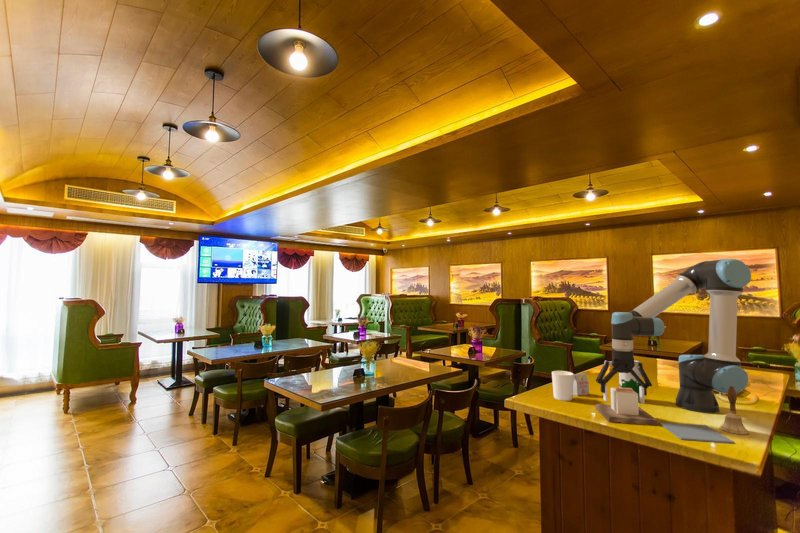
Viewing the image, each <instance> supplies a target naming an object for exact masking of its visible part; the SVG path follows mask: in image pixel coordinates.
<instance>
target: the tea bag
mask: <svg viewBox="0 0 800 533" xmlns="http://www.w3.org/2000/svg"><path fill="white" fill-rule="evenodd" d="M573 374H574V373H573ZM573 396H576V397H581V396H590V383H589V379H588V376H587V373H578V374H574V379H573Z"/></svg>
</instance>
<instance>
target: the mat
mask: <svg viewBox="0 0 800 533" xmlns="http://www.w3.org/2000/svg"><path fill="white" fill-rule="evenodd" d="M658 425H660V426H662V427H663V428H665V429H666V430H667V431H668V432H669V433H671V434H673V435H674V436H675V437H677V438H678V439H680V440H681V441H694V442H707V443H708V442H709V443H717V444H718V443H720V444H731V445H732V444H733V445H734V444H735V441H734V440H732V439H730V438H728V437H727V436H725V435H723V434H722V433H720V432H718V431H717V430H716V429H714V428H712V427H710V426H708V425H706V424H696V423H695V424H694V423H691V424H690V423H679V422H678V423H676V422H665V421H658Z"/></svg>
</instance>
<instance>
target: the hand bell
mask: <svg viewBox="0 0 800 533" xmlns="http://www.w3.org/2000/svg"><path fill="white" fill-rule="evenodd" d="M737 394H738V393H737ZM737 394H736V391H735V389H734V387H732V386H729V389H728V393H727V394H726V395H727V399H728V402H729V413H726V414H725V415H724V422H722V424H721V425H720V426H719V429H720V430H722V431H723V432H726V433H731V434H735V435H742V436H743V435H749V434H750V431H749V430H748V429H747V428H746V427H745V425H744V423H743V420H742V416H740V415H738V414H737V410H736V402H737V398H738V396H737Z"/></svg>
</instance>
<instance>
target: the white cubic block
mask: <svg viewBox="0 0 800 533" xmlns="http://www.w3.org/2000/svg"><path fill="white" fill-rule="evenodd" d="M610 405H611V408H612V409H613V410H614V411H615V412H616V413H617V414H627V415H639V408H638V407H639V402H638V393H636V392H635V391H633V389H632V388H620V387H610Z"/></svg>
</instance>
